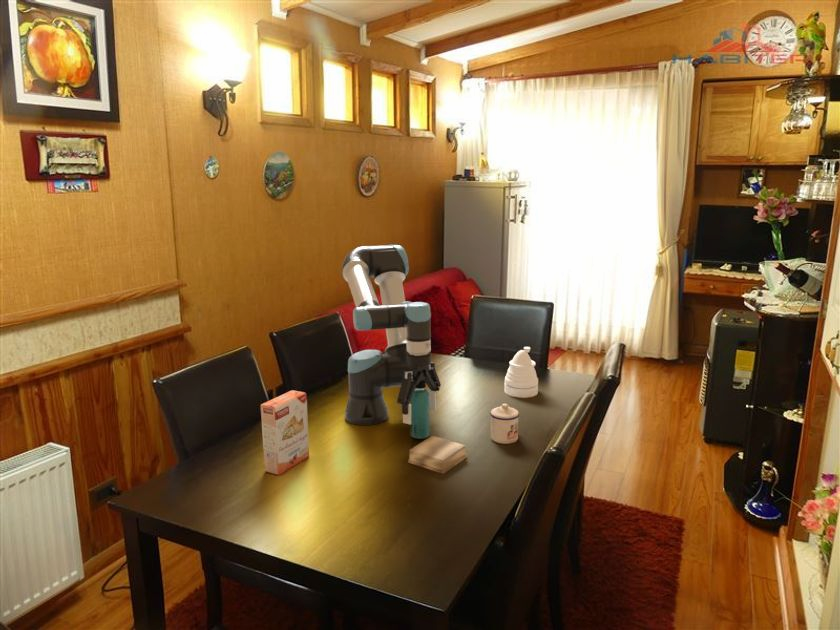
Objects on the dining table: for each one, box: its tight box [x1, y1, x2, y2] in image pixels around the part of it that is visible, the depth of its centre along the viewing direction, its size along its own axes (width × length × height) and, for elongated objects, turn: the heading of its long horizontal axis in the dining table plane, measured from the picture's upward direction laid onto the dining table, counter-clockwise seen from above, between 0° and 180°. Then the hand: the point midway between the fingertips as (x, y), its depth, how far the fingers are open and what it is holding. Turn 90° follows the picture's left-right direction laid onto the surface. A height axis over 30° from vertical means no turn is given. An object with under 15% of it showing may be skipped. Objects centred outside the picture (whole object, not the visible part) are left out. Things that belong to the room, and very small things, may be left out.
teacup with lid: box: [490, 403, 520, 445], centre depth 201 cm, size 12×9×12 cm
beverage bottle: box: [409, 380, 431, 439], centre depth 199 cm, size 6×7×20 cm
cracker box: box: [260, 389, 310, 476], centre depth 183 cm, size 14×6×21 cm, turn 151°
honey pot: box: [503, 346, 539, 399], centre depth 240 cm, size 13×13×18 cm
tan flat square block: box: [407, 435, 467, 475], centre depth 186 cm, size 13×13×4 cm
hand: (420, 416), depth 199 cm, fingers open, 13 cm apart
